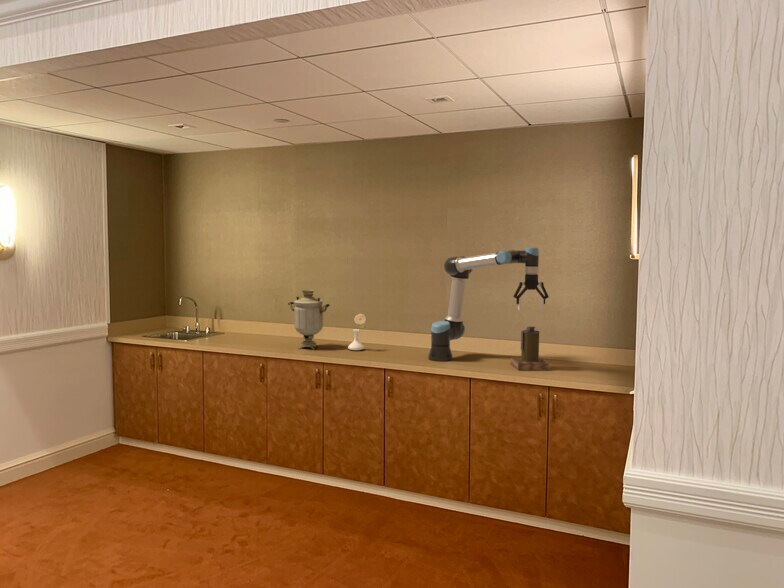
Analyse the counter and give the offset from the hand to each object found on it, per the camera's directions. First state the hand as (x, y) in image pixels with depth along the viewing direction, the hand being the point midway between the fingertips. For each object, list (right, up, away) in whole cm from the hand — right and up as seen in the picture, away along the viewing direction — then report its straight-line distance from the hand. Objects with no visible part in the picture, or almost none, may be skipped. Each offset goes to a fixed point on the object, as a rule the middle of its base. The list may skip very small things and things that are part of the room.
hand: (530, 310), depth 353 cm
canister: (0, -30, +3) cm, 30 cm away
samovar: (-137, -28, +66) cm, 155 cm away
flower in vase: (-105, -29, +56) cm, 123 cm away
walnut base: (0, -34, +3) cm, 34 cm away
